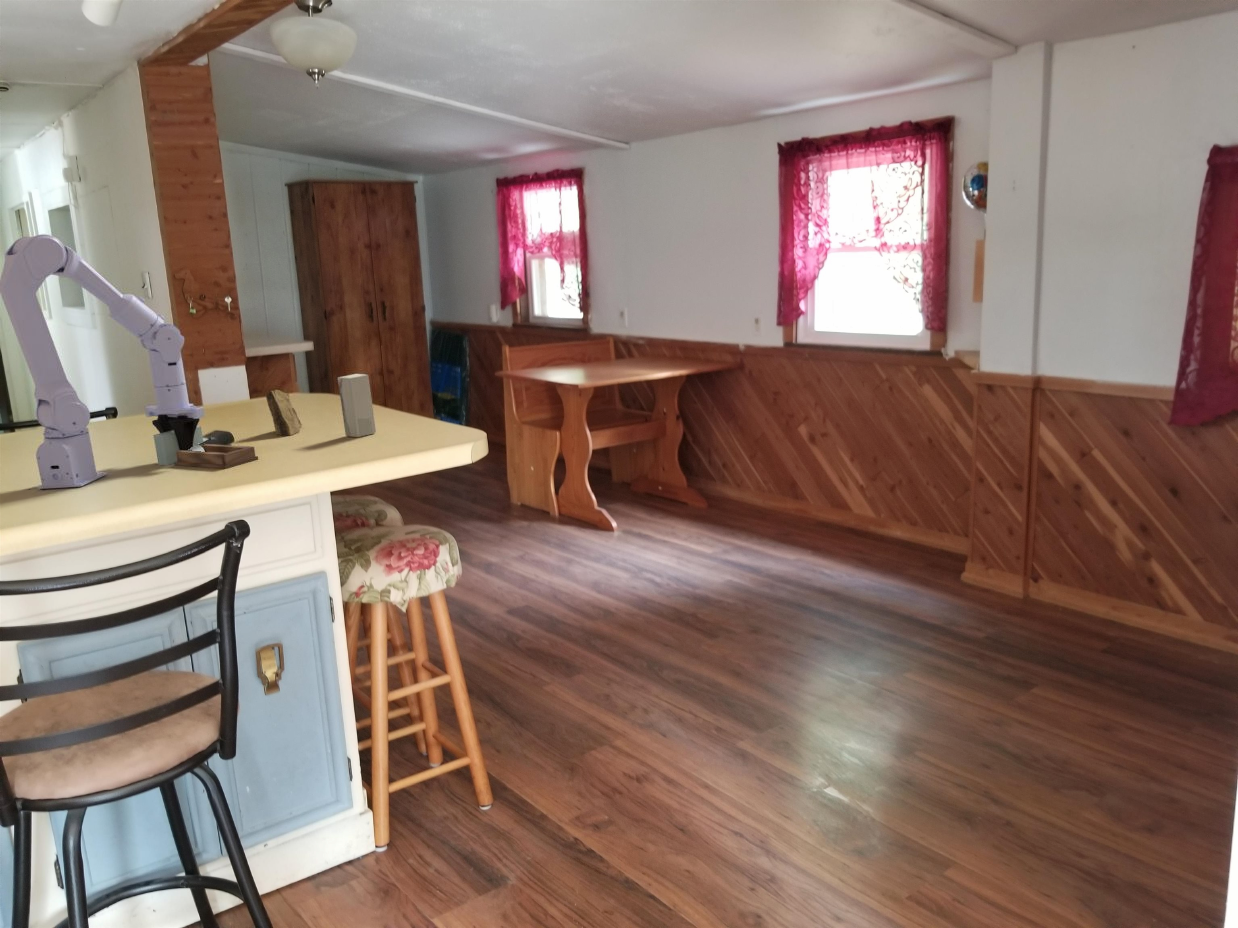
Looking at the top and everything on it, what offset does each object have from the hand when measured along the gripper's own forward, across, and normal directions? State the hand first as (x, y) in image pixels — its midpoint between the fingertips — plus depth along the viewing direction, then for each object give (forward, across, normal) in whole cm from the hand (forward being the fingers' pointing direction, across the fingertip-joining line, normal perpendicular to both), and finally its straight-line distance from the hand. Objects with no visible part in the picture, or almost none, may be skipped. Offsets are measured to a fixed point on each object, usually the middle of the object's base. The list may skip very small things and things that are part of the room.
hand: (181, 452), depth 190 cm
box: (+2, -21, -28) cm, 35 cm away
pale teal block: (+2, 0, 0) cm, 2 cm away
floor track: (+1, -10, 0) cm, 10 cm away
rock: (+2, 0, -29) cm, 29 cm away
